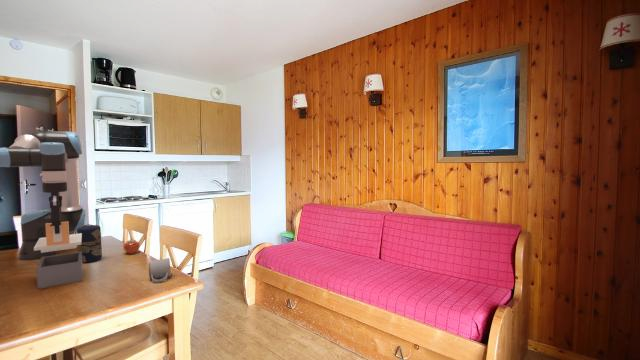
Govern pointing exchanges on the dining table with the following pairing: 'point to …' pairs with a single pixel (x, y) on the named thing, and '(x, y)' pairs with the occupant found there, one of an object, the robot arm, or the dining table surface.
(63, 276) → the tub
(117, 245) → the dining table surface
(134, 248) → the tomato
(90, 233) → the canister
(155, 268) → the ceramic mug
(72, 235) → the lid
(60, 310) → the dining table surface
